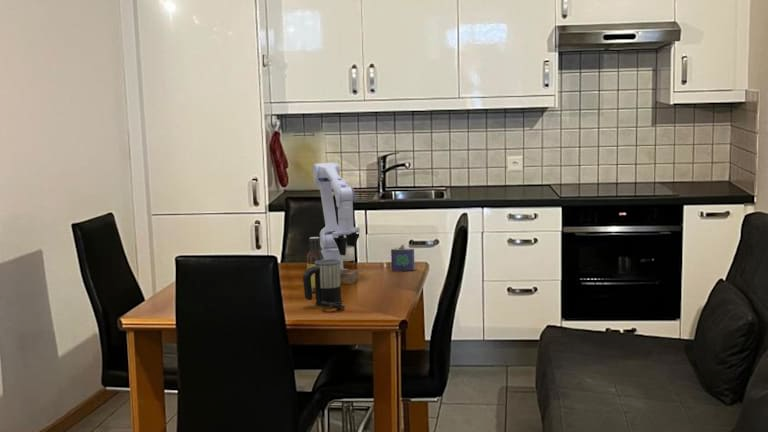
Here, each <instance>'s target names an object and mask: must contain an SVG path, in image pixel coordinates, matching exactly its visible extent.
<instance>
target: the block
mask: <svg viewBox="0 0 768 432" xmlns="http://www.w3.org/2000/svg"><path fill="white" fill-rule="evenodd" d="M347 269H348V268H343V269H340V284H343V285H345V284H346V285H347V284H348V285H352V284H353V283H355V282H356V281H358V280H359V270H358V269H348V270H347Z"/></svg>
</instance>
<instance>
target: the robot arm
mask: <svg viewBox="0 0 768 432" xmlns="http://www.w3.org/2000/svg"><path fill="white" fill-rule="evenodd" d="M312 169H313V170H312V174H313V175H312V177H313V182H314V185H315V186H316V187H318V188H319V192H320V198H321V205H322V213H323V219H324V224H325V226H324V227H323V228H322V229H321V230H320V231H319V237H320V250H321V252H322V255H323V258H324V260H327V259H334V260H340V261H341V262H340V269H344V261H342V256H341V255H345V254H346V246H347V245H351V246H354V252H355V250H356V245H357V242H358V240H359V237H360V231H361V229H360V227H359V226H355V225H354V206H353V205H354V204H353V203H354V201H355V195H356V194H355V190H354V189H355V188H354V187H353V186H351V185H350V186H349V185H348V184H347V181H345V179H344V178H343V177H341V176H340V173H341V172H340V171H341V168H340V165H339V163H338V162H337V161H335V162H323V163H322V162H321V163H320V162H319V163H317V162H316V163H314V164H313V167H312ZM333 193H334V195H333ZM334 198H335V202H336V207H337V214H336V209H335V202H334ZM336 215H337V216H336ZM337 220H338V221H337ZM346 269H347V270H349V269H348V268H346Z"/></svg>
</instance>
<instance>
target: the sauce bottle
mask: <svg viewBox="0 0 768 432" xmlns="http://www.w3.org/2000/svg"><path fill="white" fill-rule="evenodd" d="M308 242H309V252H308V253H307V255H306V262H307V263H306V270H307V269H308V268H311V267H315V263H314V262H315V261H318V260H324V258H323V255H322V252H321V250H322V249H321V246H320V236H311V237H309V238H308ZM311 287H312V293H315V273H314V274H313V275H312V276H311Z"/></svg>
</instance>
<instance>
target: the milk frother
mask: <svg viewBox="0 0 768 432" xmlns="http://www.w3.org/2000/svg"><path fill="white" fill-rule="evenodd" d="M340 262H341V261H340V260H334V259H327V260H318V261H315V262H314V263H315V267H311V268H308V269H307V268H306V269H305V271H304V273H303V275H302V281H303V282H302V283H303V290H304V291H303V292H304V298H305V299H306V300H308V301H312V300H313V292H312V287H311V276H312V275H313V274H314V273H315V292H314V293H315V304H316V305H317V306H319V307H322V306H323V307H332V308H333V309H336V310H337V311H340V310H341V309H345V304H342V303H343V300H342V291H341V290H342V289H341V284H340Z"/></svg>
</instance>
